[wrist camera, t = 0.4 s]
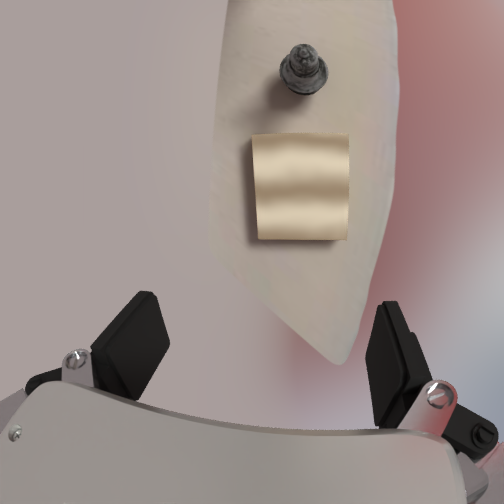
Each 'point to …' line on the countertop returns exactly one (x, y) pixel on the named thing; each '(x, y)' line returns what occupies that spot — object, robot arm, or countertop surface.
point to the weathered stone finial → (303, 70)
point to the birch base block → (301, 185)
